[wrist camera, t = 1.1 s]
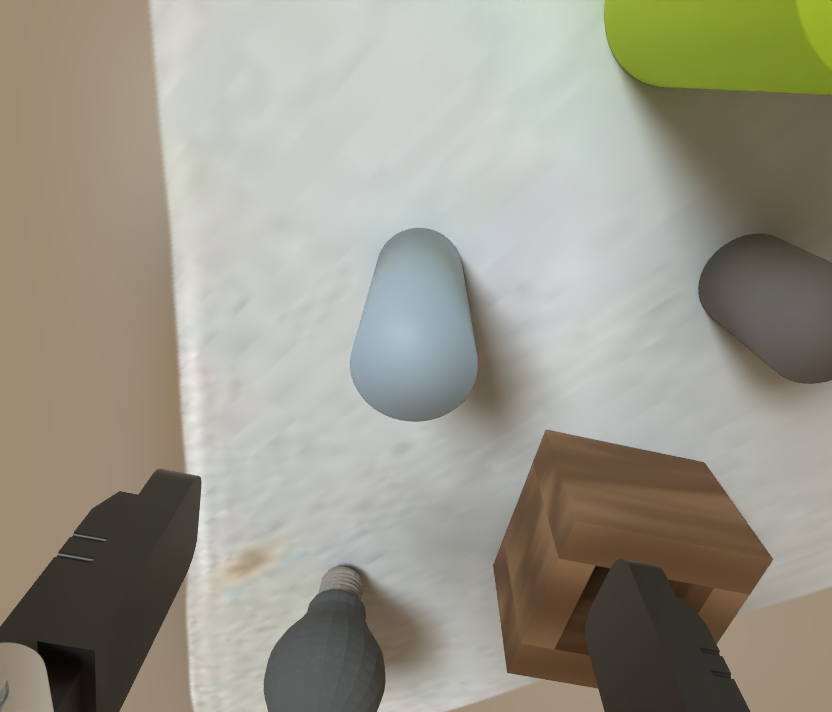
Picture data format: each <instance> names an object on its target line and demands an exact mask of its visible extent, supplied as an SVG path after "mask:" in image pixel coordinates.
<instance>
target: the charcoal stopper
mask: <svg viewBox="0 0 832 712" xmlns="http://www.w3.org/2000/svg"><path fill="white" fill-rule="evenodd" d="M698 290H699V299H700V302H701V304H702V306H703V308H704V309H705V311H706V312H707V313H708V314H709V315H710V316H711V317H712V318H714V319H715V320H716V321H717V322H718V323H719V324H721V325H722V326H723V327H724V328H725V329H726V330H728V331H729V332H730V333H731V334H732V335H734V336H735V337H736V338H737V339H738V340H739V341H741V342H742V343H743V344H744V345H745V346H746V347H748V348H749V349H750V350H751V351H752V352H753V353H755V354H756V355H757V356H758V357H759V358H761V359H762V360H763V361H764V362H765V363H766V364H768V365H769V366H770V367H771V368H772V369H773V370H775V371H776V372H777V373H778V374H779V375H781V376H783V377H784V378H786V379H788V380H791V381H794V382H799V383H810V384H812V383H821V382H827V381H830V380H832V263H830V262H828V261H826V260H824V259H822V258H820V257H817V256H815V255H813V254H811V253H809V252H807V251H805V250H802V249H800V248H798V247H796V246H794V245H792V244H789V243H787V242H785V241H783V240H781V239H779V238H776V237H774V236H771V235H766V234H752V235H746V236H743V237H740V238H737V239H735V240H733V241H731V242H729V243H727V244H726V245H724V246H723V247H721V248H720V249H719V250H718V251H717V252H716V253H715V254H714V255H713V256H712V257H711V258H710V259H709V261H708V262H707V264H706V265H705V267H704V269H703V271H702V274H701V276H700V280H699V287H698Z"/></svg>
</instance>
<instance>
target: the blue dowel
mask: <svg viewBox="0 0 832 712" xmlns="http://www.w3.org/2000/svg"><path fill="white" fill-rule="evenodd" d="M350 369H351V375H352V379H353V382H354V384H355V386H356V388H357V390H358V392H359V393H360V395H361V396H362V397H363V399H364V400H365V401H366V402H367V403H368V404H369V405H370V406H372V407H373V408H374V409H376V410H377V411H379V412H380V413H382V414H384V415H386V416H389V417H391V418H395V419H398V420H403V421H415V422H417V421H427V420H432V419H435V418H438V417H441V416H443V415H445V414H447V413H449V412H451V411H452V410H454V409H455V408H457V407H458V406H459V405H460V404H461V403H462V402H463V401H464V400H465V399H466V398H467V396H468V395H469V394H470V392H471V390H472V388H473V386H474V384H475V381H476V377H477V373H478V357H477V351H476V345H475V339H474V334H473V328H472V322H471V316H470V310H469V304H468V298H467V292H466V286H465V280H464V274H463V268H462V263H461V258H460V255H459V253H458V251H457V249H456V247H455V246H454V245H453V243H452V242H451V241H450V240H449V239H448V238H446V237H445V236H444V235H442V234H440V233H438V232H436V231H434V230H430V229H425V228H413V229H408V230H405V231H402V232H400V233H398V234H396V235H395V236H393V237H392V238H391V239H390V240H389V241H388V242H387V243H386V244H385V245H384V247H383V248H382V250H381V252H380V254H379V257H378V261H377V264H376V268H375V271H374V275H373V278H372V282H371V285H370V289H369V292H368V296H367V299H366V303H365V306H364V310H363V313H362V317H361V320H360V324H359V328H358V331H357V335H356V338H355V342H354V345H353V349H352V352H351V359H350Z"/></svg>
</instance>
